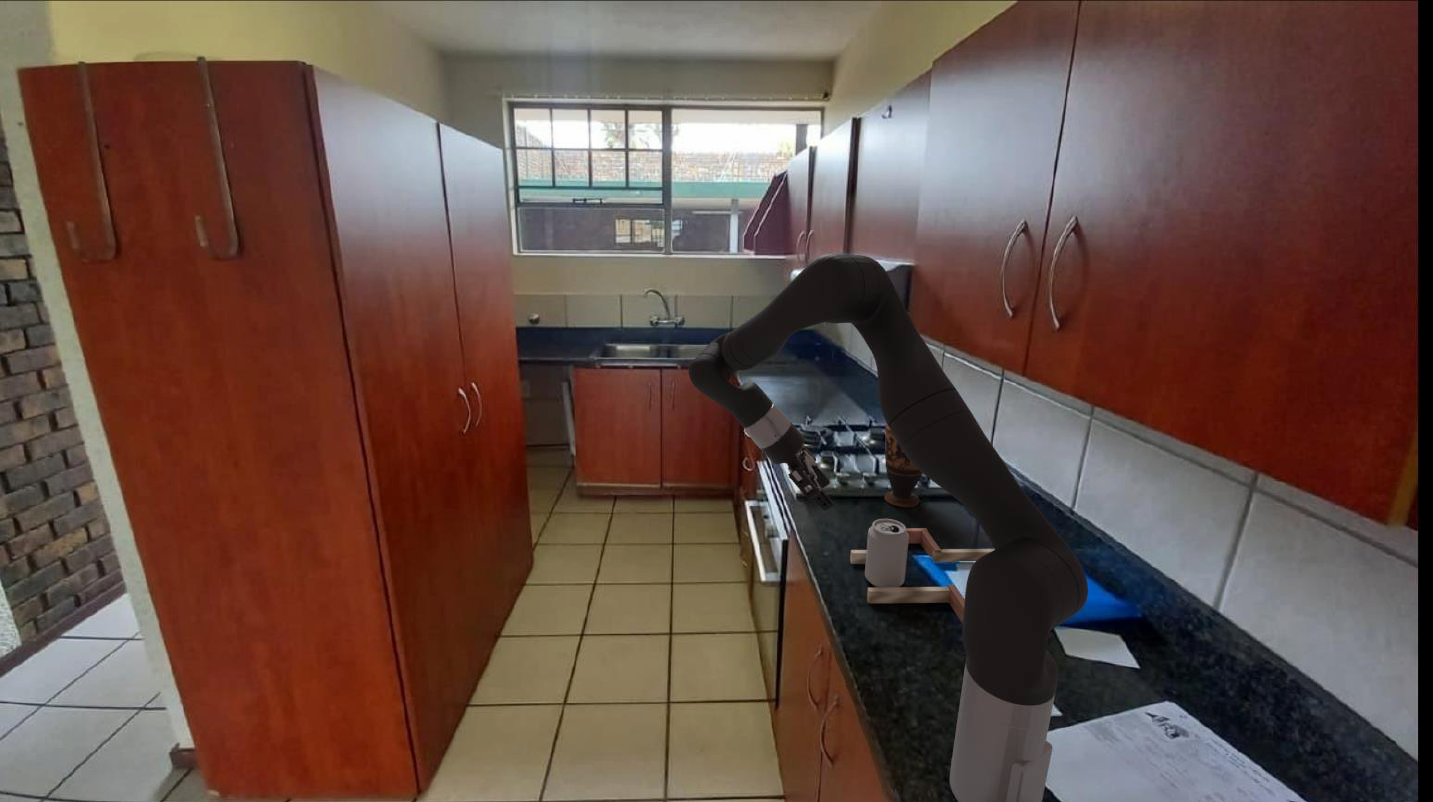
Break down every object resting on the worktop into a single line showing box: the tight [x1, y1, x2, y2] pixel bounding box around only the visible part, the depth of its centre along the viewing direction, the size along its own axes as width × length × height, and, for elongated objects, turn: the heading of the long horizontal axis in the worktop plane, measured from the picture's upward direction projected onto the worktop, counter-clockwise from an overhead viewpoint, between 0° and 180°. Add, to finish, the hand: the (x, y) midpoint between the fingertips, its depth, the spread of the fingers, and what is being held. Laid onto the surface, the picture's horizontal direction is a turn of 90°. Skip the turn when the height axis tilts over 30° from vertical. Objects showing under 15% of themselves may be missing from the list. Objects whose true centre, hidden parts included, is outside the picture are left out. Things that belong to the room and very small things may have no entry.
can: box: [864, 518, 909, 588], centre depth 113 cm, size 8×8×12 cm
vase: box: [884, 423, 923, 509], centre depth 144 cm, size 11×11×30 cm
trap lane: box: [849, 527, 995, 625], centre depth 114 cm, size 33×30×3 cm
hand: (827, 495), depth 110 cm, fingers open, 8 cm apart
